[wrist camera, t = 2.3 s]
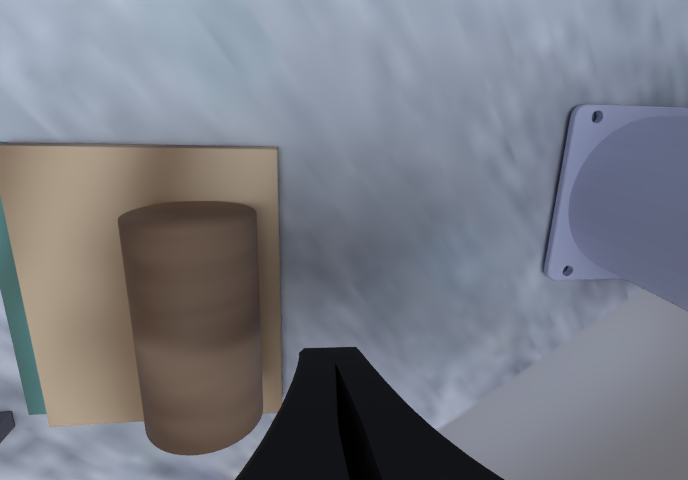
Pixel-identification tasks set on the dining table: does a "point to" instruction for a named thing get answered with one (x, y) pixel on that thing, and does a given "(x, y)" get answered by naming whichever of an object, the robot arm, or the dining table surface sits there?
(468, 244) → the dining table surface
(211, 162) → the tan flat square slab
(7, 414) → the gray u-shaped frame
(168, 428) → the roller
